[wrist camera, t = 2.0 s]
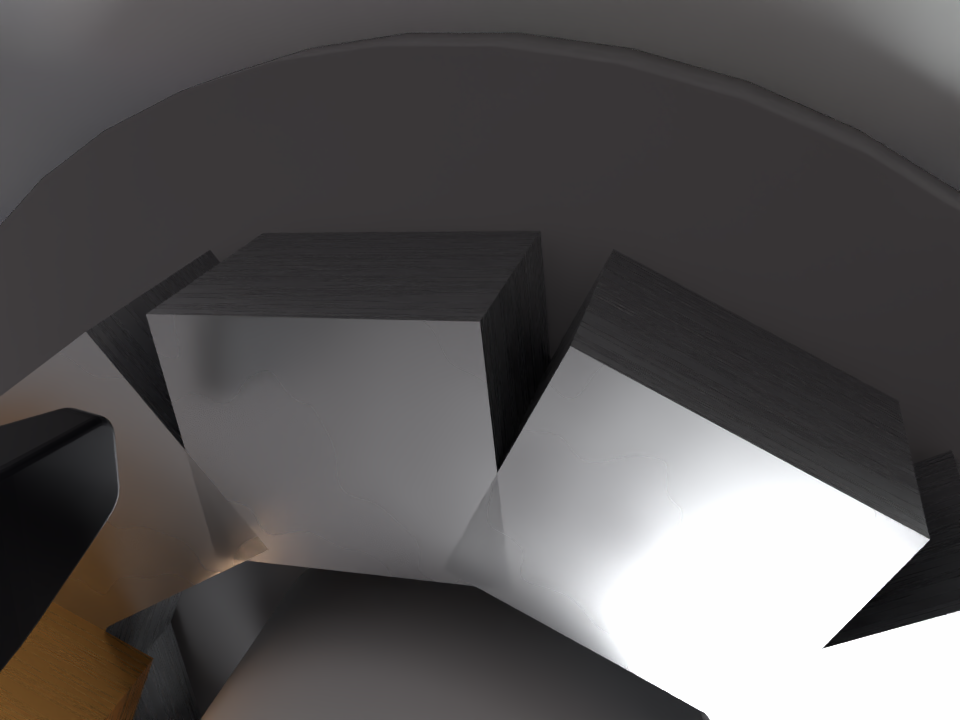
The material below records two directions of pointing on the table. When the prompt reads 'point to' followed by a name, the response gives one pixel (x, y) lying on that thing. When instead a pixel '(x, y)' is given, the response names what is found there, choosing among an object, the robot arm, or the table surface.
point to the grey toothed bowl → (501, 477)
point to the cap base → (568, 279)
